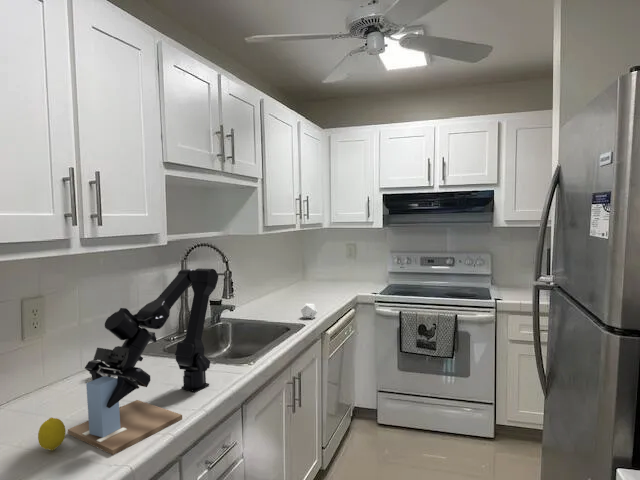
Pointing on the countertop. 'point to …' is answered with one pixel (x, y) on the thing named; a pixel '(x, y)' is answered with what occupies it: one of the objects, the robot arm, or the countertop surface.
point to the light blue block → (102, 407)
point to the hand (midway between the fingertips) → (98, 405)
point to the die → (309, 311)
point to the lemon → (51, 434)
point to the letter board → (129, 427)
